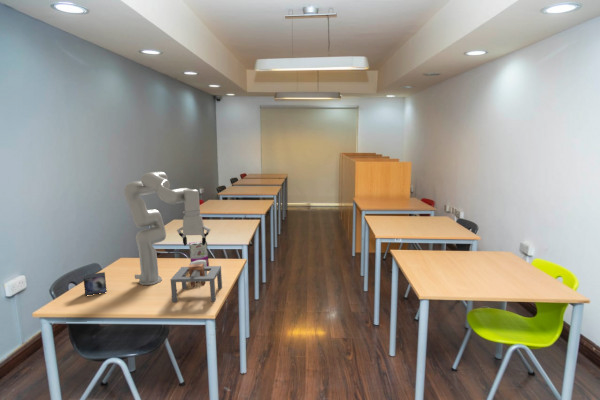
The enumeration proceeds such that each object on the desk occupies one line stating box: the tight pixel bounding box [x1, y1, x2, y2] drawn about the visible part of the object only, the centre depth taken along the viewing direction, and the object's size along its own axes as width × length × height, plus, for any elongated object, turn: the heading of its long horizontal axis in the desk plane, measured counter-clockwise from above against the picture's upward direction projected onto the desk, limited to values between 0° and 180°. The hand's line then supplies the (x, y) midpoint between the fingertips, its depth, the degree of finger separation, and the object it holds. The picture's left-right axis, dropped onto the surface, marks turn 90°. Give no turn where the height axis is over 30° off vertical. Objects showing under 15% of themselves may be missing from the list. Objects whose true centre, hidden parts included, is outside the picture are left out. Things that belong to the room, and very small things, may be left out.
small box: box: [83, 271, 108, 297], centre depth 211 cm, size 11×6×10 cm, turn 117°
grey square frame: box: [170, 265, 223, 303], centre depth 206 cm, size 22×19×14 cm
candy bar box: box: [188, 240, 210, 266], centre depth 251 cm, size 11×5×16 cm, turn 113°
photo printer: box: [189, 260, 208, 277], centre depth 227 cm, size 10×4×12 cm, turn 123°
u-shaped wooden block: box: [187, 264, 206, 288], centre depth 205 cm, size 7×4×11 cm, turn 90°
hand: (194, 244), depth 203 cm, fingers open, 9 cm apart
